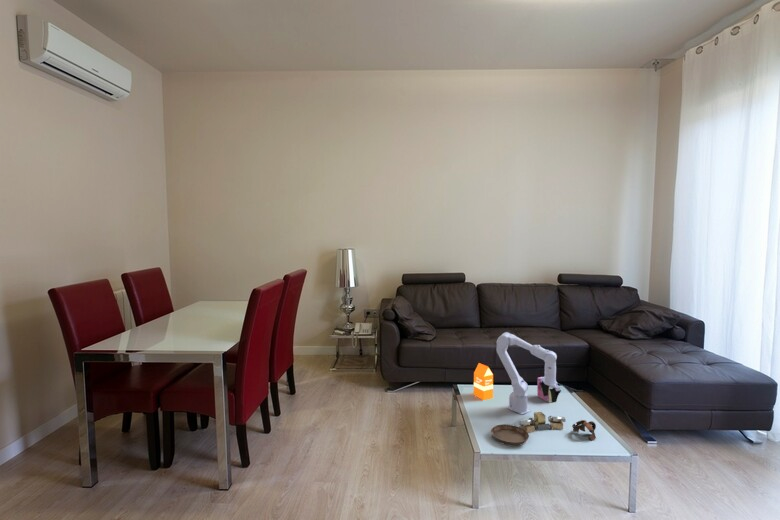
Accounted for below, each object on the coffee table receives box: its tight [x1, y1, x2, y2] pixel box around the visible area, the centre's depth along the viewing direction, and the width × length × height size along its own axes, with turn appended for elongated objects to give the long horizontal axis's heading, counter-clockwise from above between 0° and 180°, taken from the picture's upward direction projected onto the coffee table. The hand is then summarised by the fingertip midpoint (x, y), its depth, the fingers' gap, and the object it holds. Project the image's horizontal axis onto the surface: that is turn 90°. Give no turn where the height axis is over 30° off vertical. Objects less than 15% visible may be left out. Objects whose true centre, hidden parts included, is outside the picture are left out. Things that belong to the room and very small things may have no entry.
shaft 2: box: [547, 415, 566, 430], centre depth 197 cm, size 8×4×6 cm, turn 86°
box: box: [536, 376, 553, 404], centre depth 231 cm, size 10×6×12 cm, turn 17°
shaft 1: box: [519, 417, 535, 434], centre depth 194 cm, size 8×4×6 cm, turn 116°
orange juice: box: [473, 362, 494, 401], centre depth 235 cm, size 8×9×20 cm
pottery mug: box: [571, 419, 597, 441], centre depth 189 cm, size 12×10×8 cm
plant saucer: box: [490, 424, 530, 447], centre depth 186 cm, size 18×18×3 cm
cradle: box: [533, 422, 550, 431], centre depth 198 cm, size 6×7×3 cm
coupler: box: [533, 411, 546, 426], centre depth 197 cm, size 6×4×6 cm
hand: (549, 398), depth 208 cm, fingers open, 7 cm apart
